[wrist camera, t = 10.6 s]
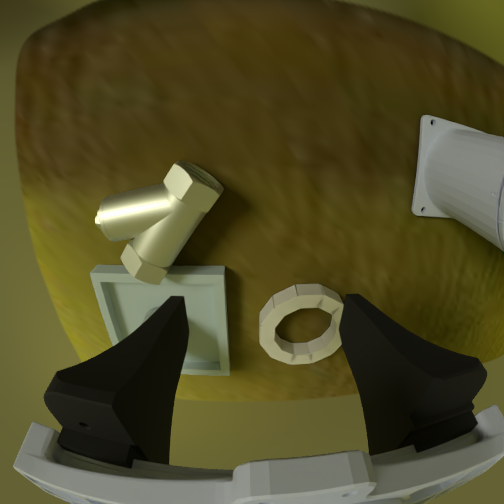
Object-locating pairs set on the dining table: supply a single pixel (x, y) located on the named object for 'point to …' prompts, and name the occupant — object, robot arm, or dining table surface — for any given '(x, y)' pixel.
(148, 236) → the pipe fitting
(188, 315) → the tray
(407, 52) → the dining table surface
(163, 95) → the dining table surface
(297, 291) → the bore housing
